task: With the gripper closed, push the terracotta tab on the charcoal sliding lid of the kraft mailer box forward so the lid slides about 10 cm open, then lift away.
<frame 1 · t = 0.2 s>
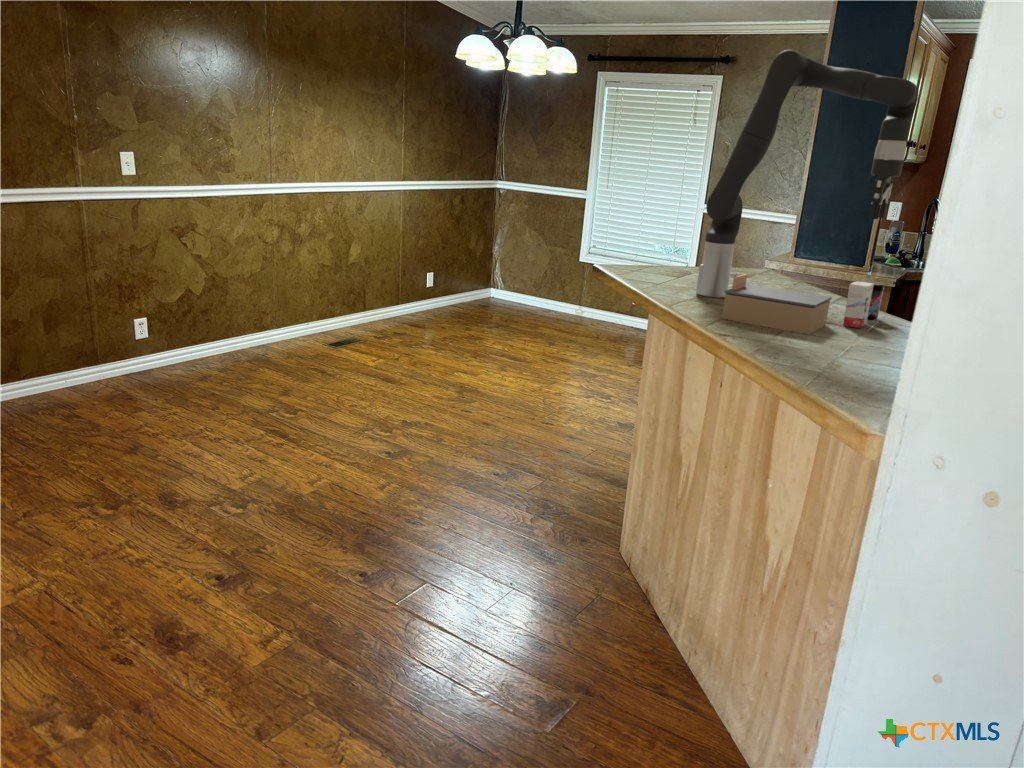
hand: (876, 218, 207), 29 cm above the table, fingers open, 8 cm apart
ink box: (853, 325, 207), on the table
mailer lid: (778, 288, 203), point 9 cm above the table, slide at 0.0 cm
mailer box: (773, 321, 206), on the table
supplement container: (865, 318, 218), on the table
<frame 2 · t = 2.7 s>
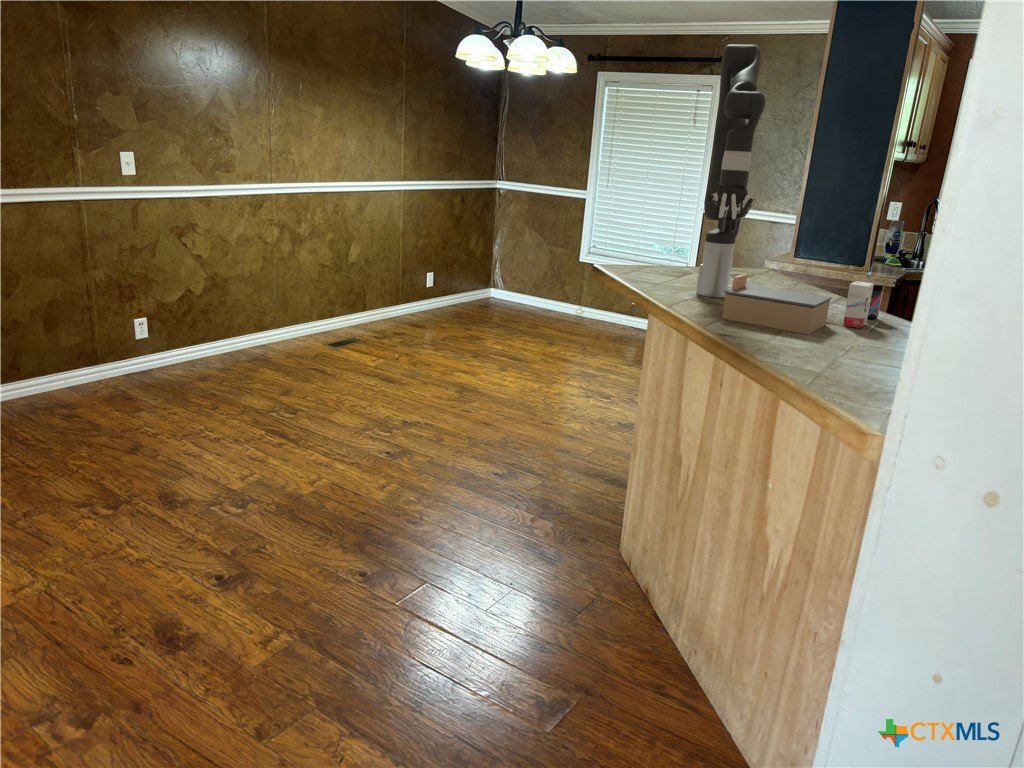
hand: (726, 231, 208), 23 cm above the table, fingers closed
nothing on the table moved.
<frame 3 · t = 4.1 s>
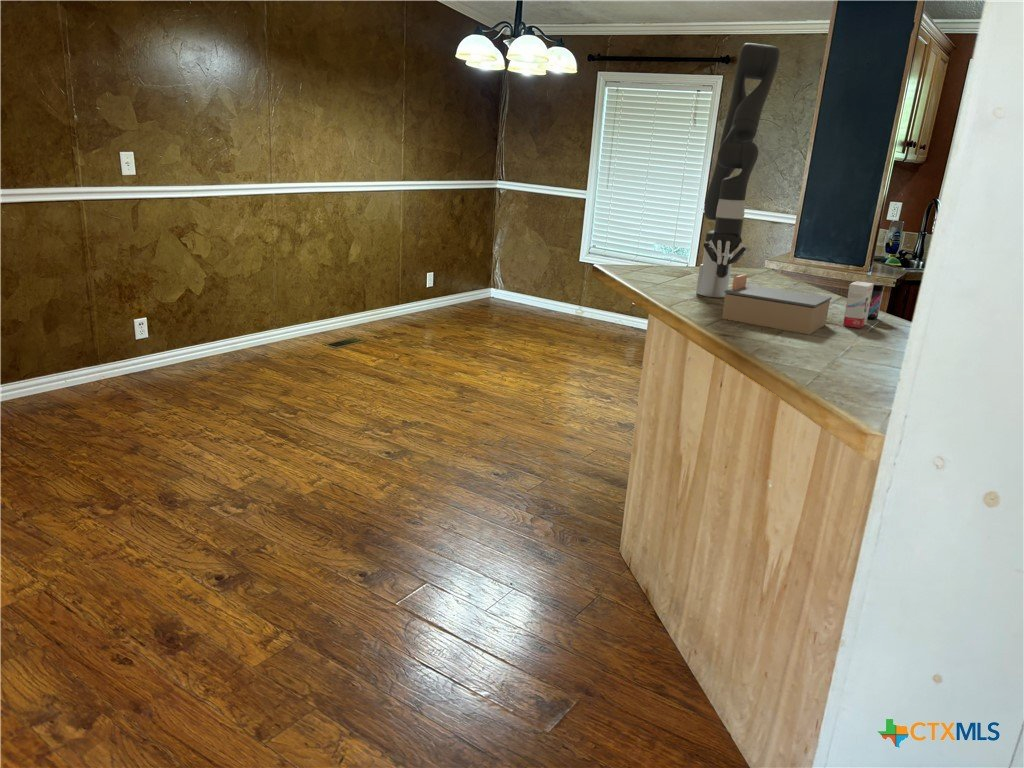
hand: (721, 277, 212), 10 cm above the table, fingers closed
nothing on the table moved.
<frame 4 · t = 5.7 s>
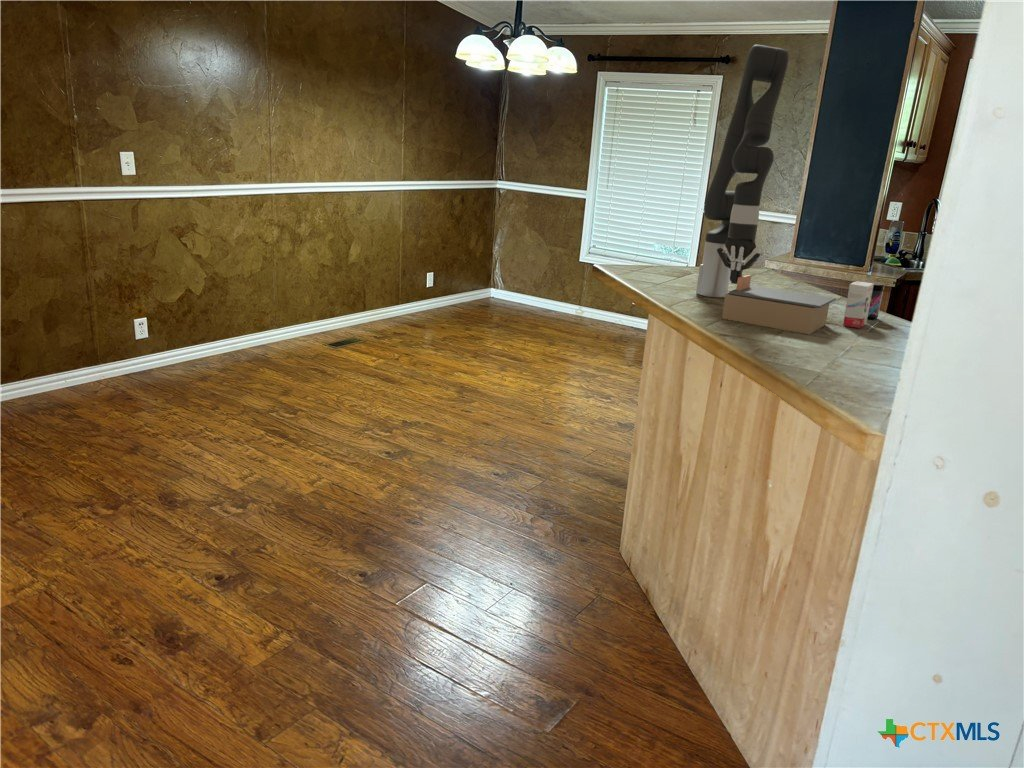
hand: (734, 283, 210), 9 cm above the table, fingers closed
mailer lid: (783, 289, 202), point 9 cm above the table, slide at 1.2 cm, touching gripper
everything else where it was.
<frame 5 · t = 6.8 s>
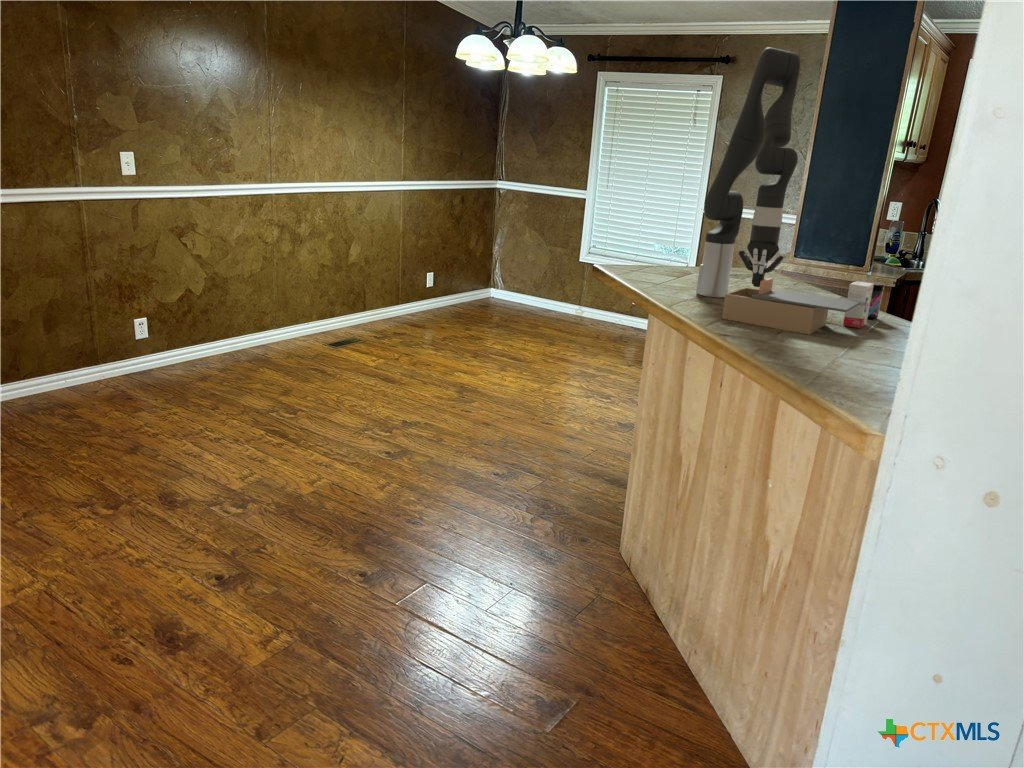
hand: (757, 286, 206), 9 cm above the table, fingers closed
mailer lid: (807, 293, 199), point 9 cm above the table, slide at 7.6 cm, touching gripper
everything else where it was.
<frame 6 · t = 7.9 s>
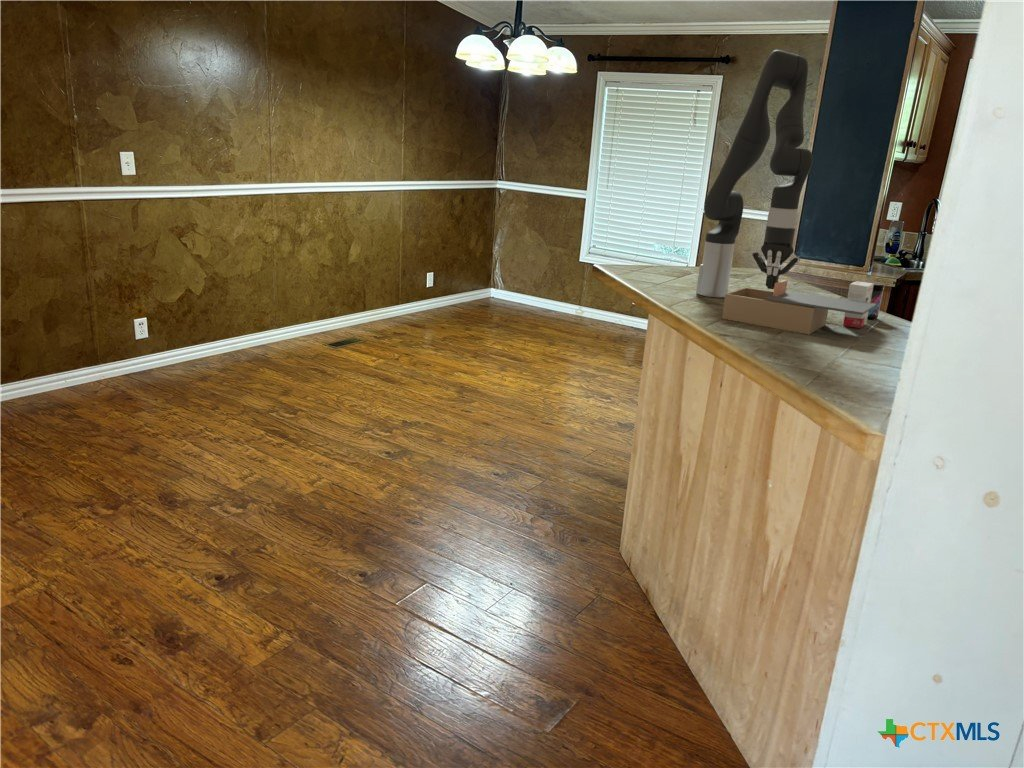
hand: (770, 288, 204), 9 cm above the table, fingers closed
mailer lid: (822, 295, 196), point 9 cm above the table, slide at 11.6 cm, touching gripper
everything else where it was.
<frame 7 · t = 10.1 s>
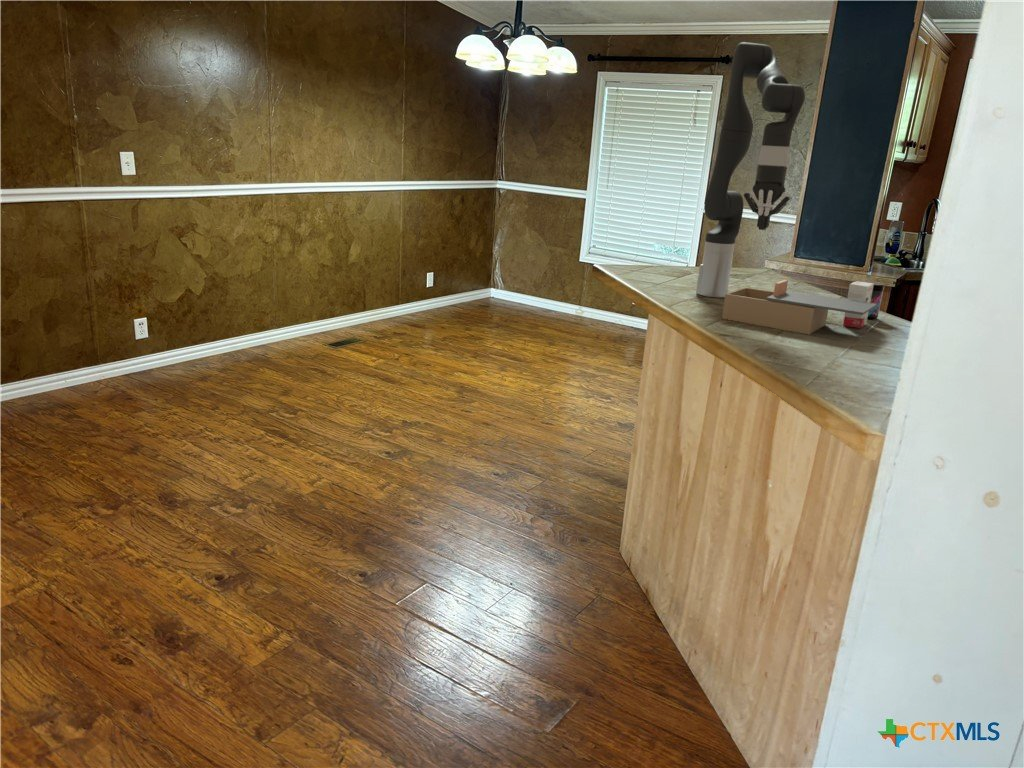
hand: (762, 229, 202), 25 cm above the table, fingers closed
mailer lid: (822, 295, 196), point 9 cm above the table, slide at 11.7 cm
everything else where it was.
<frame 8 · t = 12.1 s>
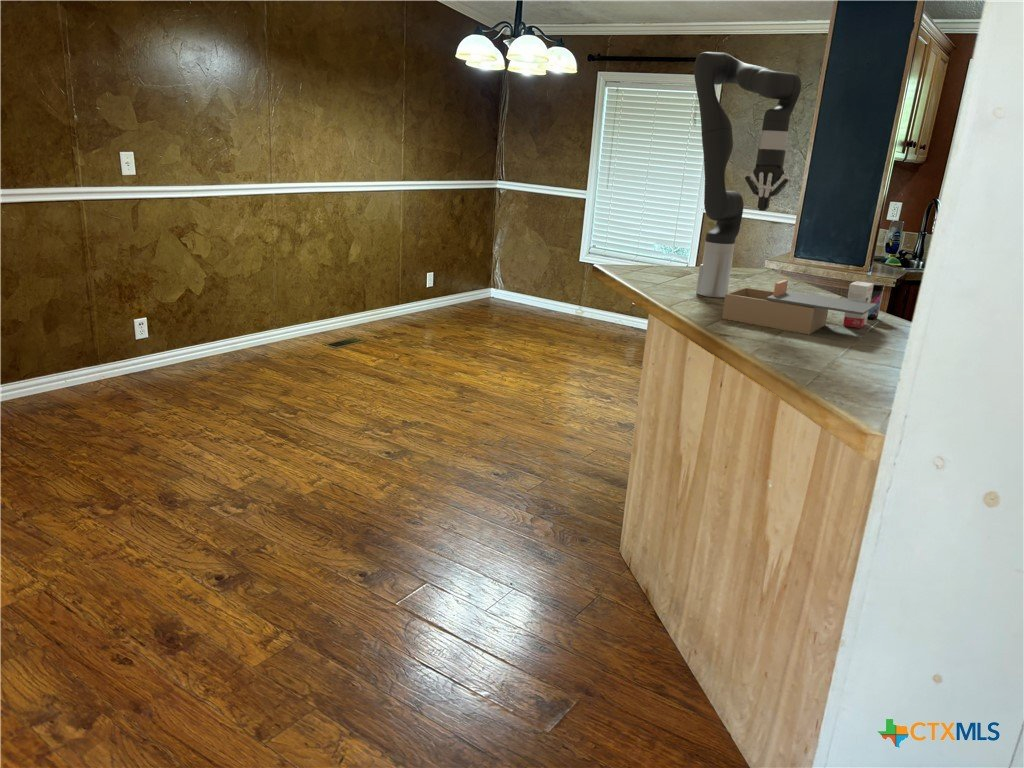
hand: (762, 210, 213), 29 cm above the table, fingers closed
nothing on the table moved.
at the end: mailer lid slide at 11.7 cm; ink box moved 0.3 cm from its start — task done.
